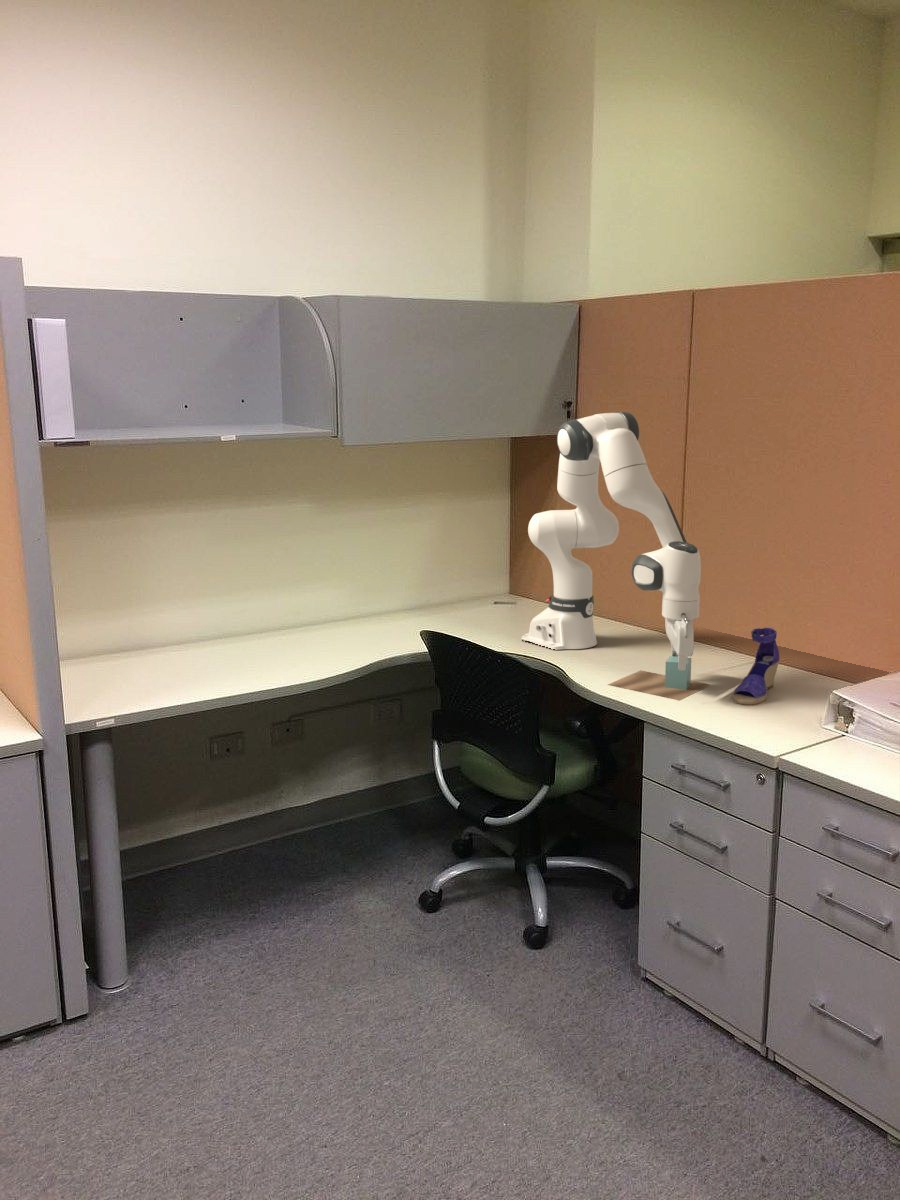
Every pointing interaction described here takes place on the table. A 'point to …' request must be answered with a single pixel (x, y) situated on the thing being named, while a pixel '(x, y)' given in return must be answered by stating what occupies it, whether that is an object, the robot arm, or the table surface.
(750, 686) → the sandal
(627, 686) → the board
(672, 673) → the teal rectangular block
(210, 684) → the table surface
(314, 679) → the table surface
